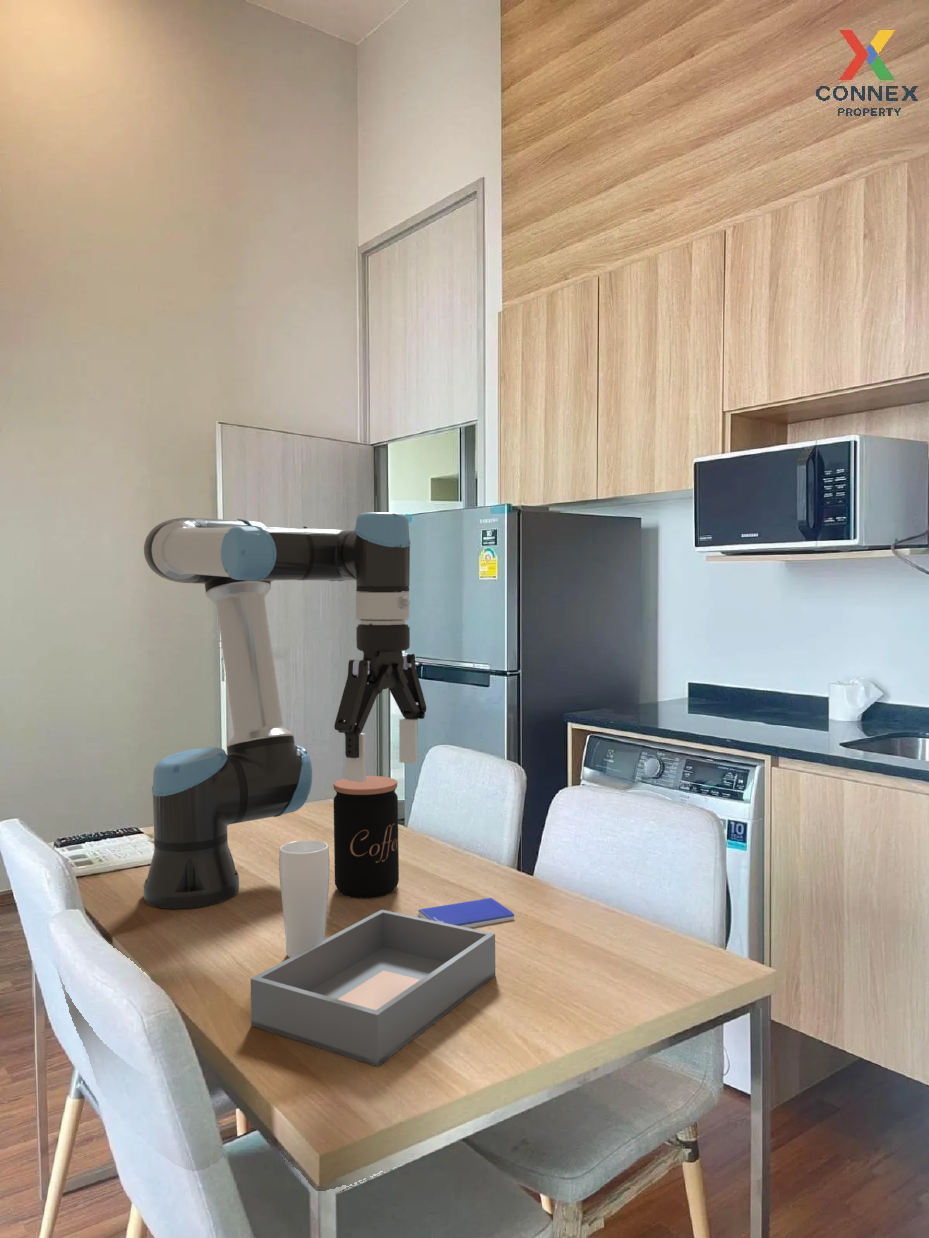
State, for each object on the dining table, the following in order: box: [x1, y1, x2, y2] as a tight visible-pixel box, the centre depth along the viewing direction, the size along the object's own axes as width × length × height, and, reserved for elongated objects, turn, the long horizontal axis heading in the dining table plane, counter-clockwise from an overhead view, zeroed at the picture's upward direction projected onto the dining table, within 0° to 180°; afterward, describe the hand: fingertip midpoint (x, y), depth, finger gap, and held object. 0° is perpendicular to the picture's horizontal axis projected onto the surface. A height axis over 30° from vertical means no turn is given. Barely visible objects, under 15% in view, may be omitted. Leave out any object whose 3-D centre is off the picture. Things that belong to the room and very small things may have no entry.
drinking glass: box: [278, 839, 330, 959], centre depth 124 cm, size 7×7×15 cm
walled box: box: [250, 909, 496, 1068], centre depth 110 cm, size 18×26×6 cm
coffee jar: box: [333, 775, 400, 899], centre depth 151 cm, size 11×11×18 cm
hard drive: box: [417, 897, 515, 929], centre depth 138 cm, size 2×8×12 cm
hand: (383, 771), depth 128 cm, fingers open, 13 cm apart
